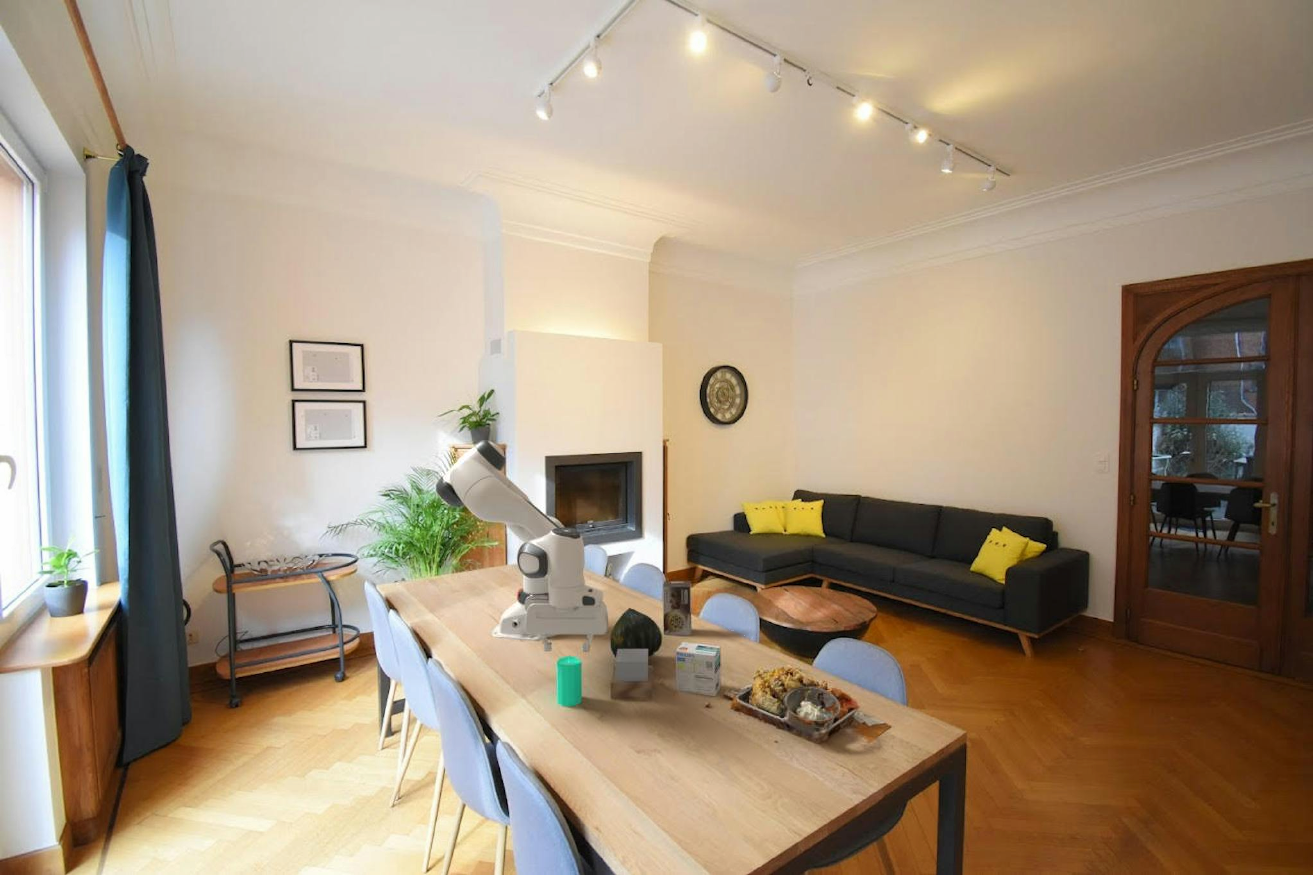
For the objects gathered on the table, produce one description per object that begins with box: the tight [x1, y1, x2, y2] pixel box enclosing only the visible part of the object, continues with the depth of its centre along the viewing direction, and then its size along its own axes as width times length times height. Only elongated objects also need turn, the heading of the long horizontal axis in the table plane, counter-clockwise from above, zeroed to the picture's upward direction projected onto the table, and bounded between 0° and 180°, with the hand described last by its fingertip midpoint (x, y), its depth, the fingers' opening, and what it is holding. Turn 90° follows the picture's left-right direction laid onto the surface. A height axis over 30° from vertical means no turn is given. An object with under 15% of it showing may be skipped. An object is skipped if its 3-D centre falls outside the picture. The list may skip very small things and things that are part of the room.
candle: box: [556, 655, 583, 708], centre depth 143 cm, size 6×6×12 cm
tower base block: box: [610, 665, 653, 701], centre depth 149 cm, size 10×10×5 cm
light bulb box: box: [675, 641, 722, 697], centre depth 151 cm, size 11×7×11 cm, turn 71°
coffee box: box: [662, 580, 693, 636], centre depth 191 cm, size 9×6×16 cm
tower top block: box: [614, 649, 649, 681], centre depth 149 cm, size 8×8×5 cm
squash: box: [609, 607, 663, 659], centre depth 166 cm, size 14×15×15 cm
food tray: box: [705, 664, 892, 752], centre depth 136 cm, size 35×26×11 cm
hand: (567, 650), depth 143 cm, fingers open, 8 cm apart
